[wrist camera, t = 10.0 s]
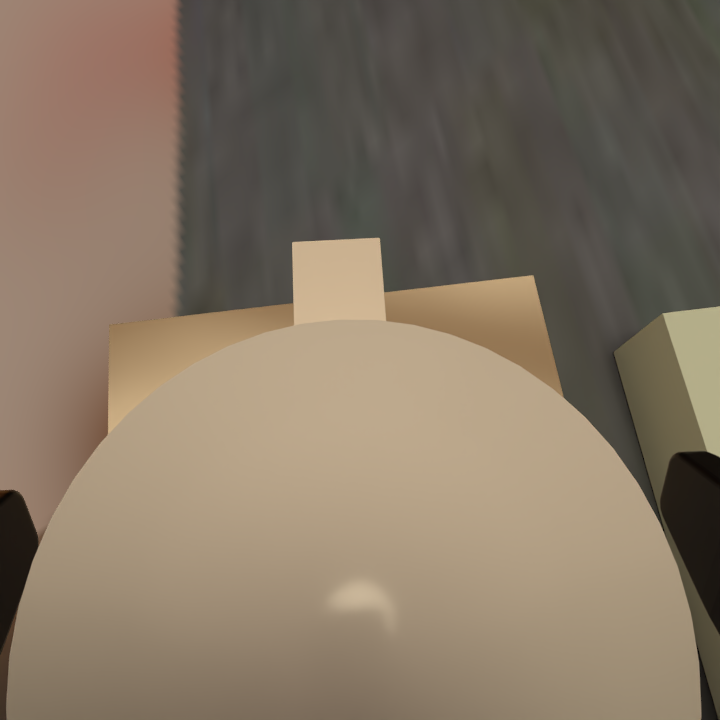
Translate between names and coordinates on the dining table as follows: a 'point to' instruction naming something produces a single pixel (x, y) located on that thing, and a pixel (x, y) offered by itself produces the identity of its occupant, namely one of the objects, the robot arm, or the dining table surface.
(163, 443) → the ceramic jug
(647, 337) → the glass holder
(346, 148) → the dining table surface
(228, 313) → the serving board
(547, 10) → the dining table surface
